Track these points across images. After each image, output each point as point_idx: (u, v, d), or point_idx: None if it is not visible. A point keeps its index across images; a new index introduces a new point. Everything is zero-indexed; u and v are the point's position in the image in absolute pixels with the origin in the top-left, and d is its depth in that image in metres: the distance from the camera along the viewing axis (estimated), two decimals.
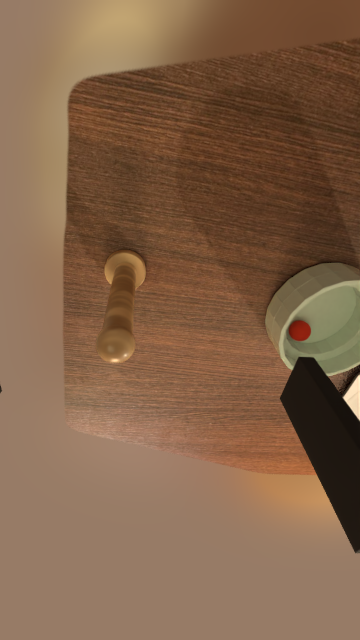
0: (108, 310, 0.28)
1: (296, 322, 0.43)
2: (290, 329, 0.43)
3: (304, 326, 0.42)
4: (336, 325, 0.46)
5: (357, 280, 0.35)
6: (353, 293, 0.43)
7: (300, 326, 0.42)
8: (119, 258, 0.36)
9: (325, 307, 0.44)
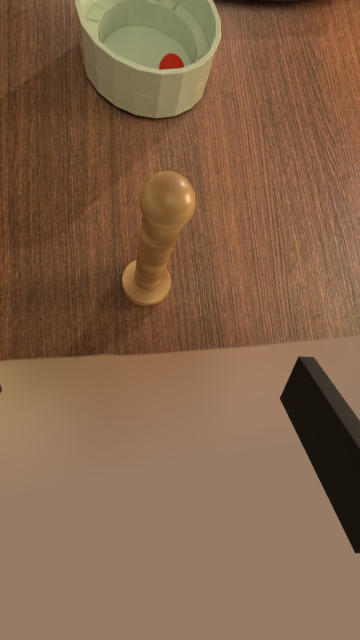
0: (149, 246, 0.21)
1: None
2: None
3: (161, 63, 0.35)
4: (159, 37, 0.38)
5: (77, 11, 0.30)
6: (114, 33, 0.37)
7: (163, 68, 0.35)
8: (130, 288, 0.31)
9: (139, 56, 0.37)
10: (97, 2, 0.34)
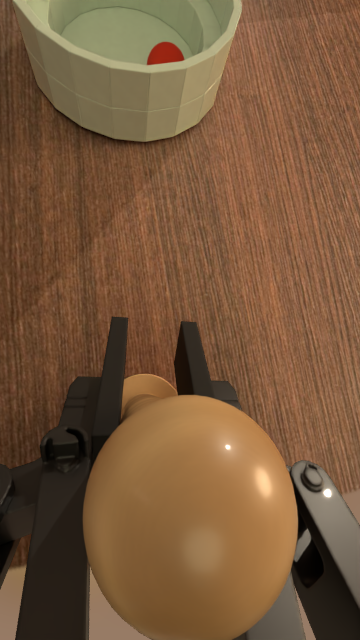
0: None
1: None
2: None
3: (150, 58, 0.22)
4: (145, 22, 0.26)
5: None
6: (78, 20, 0.25)
7: None
8: None
9: (117, 51, 0.25)
10: None
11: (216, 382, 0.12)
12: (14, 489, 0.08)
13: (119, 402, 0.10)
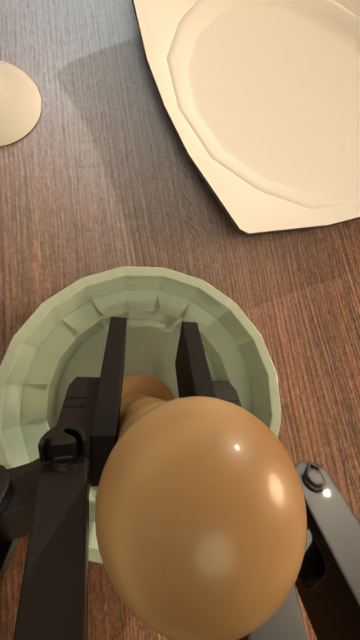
0: None
1: None
2: None
3: None
4: (160, 335, 0.22)
5: None
6: (82, 349, 0.21)
7: None
8: None
9: None
10: (44, 343, 0.18)
11: (217, 382, 0.12)
12: (12, 489, 0.08)
13: (117, 402, 0.10)
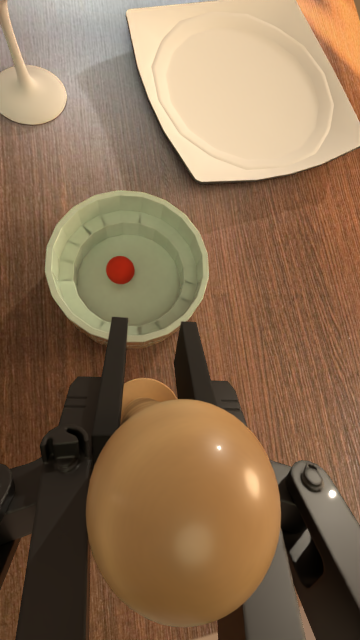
0: None
1: (126, 282, 0.33)
2: (115, 282, 0.32)
3: None
4: (142, 245, 0.35)
5: (47, 279, 0.27)
6: (93, 250, 0.34)
7: None
8: None
9: None
10: (71, 237, 0.31)
11: (216, 382, 0.12)
12: (14, 489, 0.08)
13: (119, 402, 0.10)
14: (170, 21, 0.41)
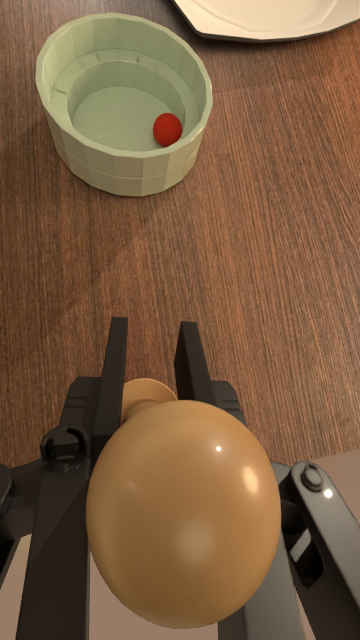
0: None
1: (158, 129, 0.30)
2: (164, 143, 0.31)
3: (168, 120, 0.29)
4: (141, 97, 0.33)
5: (38, 89, 0.25)
6: (88, 98, 0.32)
7: (167, 126, 0.29)
8: None
9: (118, 123, 0.32)
10: (64, 69, 0.29)
11: (216, 382, 0.12)
12: (14, 489, 0.08)
13: (119, 402, 0.10)
14: None
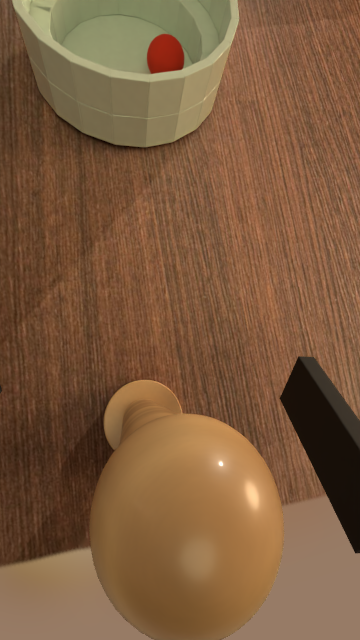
0: None
1: (149, 63, 0.24)
2: None
3: (153, 42, 0.23)
4: (145, 29, 0.27)
5: None
6: (79, 28, 0.25)
7: (153, 49, 0.23)
8: (116, 435, 0.19)
9: (117, 58, 0.25)
10: None
11: None
12: None
13: None
14: None
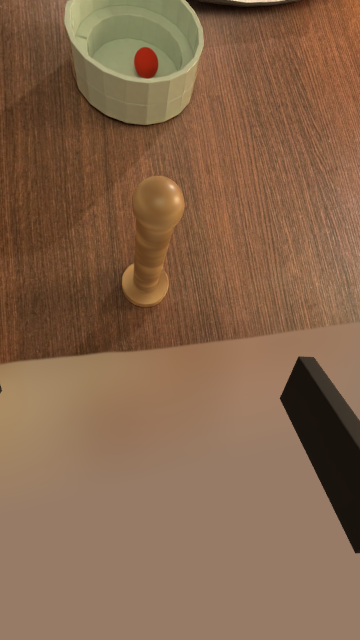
0: (142, 246, 0.22)
1: None
2: (143, 71, 0.37)
3: None
4: None
5: (66, 29, 0.32)
6: (102, 47, 0.39)
7: None
8: (129, 289, 0.32)
9: (127, 67, 0.39)
10: (85, 20, 0.36)
11: None
12: None
13: None
14: None
